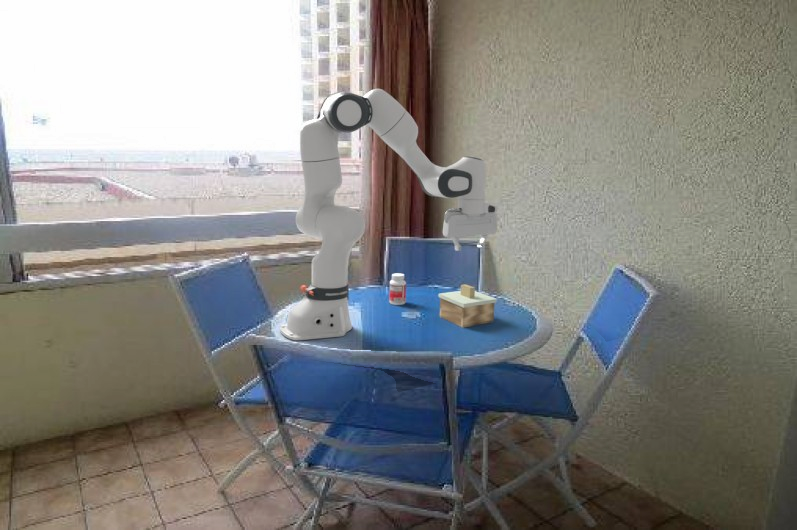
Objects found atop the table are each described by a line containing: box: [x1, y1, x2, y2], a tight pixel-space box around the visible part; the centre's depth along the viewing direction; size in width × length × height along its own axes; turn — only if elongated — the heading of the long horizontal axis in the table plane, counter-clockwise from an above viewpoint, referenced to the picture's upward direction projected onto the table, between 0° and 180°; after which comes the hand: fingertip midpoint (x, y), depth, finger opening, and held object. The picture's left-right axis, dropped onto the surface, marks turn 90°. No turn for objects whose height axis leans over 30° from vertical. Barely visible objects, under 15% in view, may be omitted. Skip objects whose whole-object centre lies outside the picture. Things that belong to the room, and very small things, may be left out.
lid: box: [438, 283, 498, 308], centre depth 173 cm, size 14×14×5 cm
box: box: [439, 298, 495, 329], centre depth 174 cm, size 13×13×7 cm
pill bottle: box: [388, 272, 407, 306], centre depth 191 cm, size 6×6×11 cm
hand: (469, 249), depth 170 cm, fingers open, 8 cm apart
